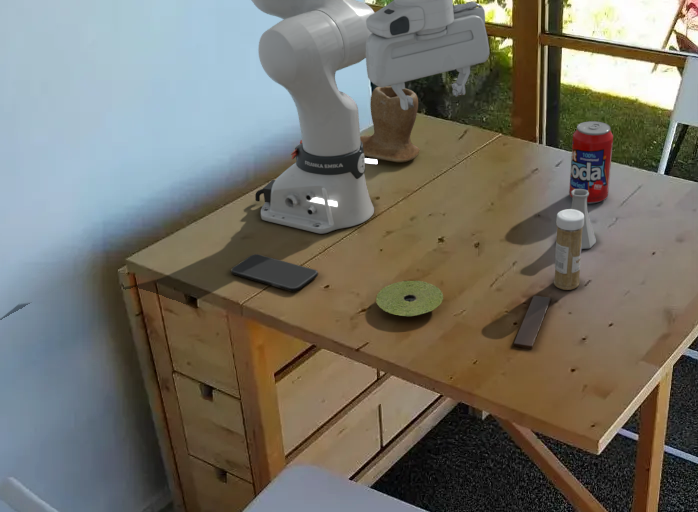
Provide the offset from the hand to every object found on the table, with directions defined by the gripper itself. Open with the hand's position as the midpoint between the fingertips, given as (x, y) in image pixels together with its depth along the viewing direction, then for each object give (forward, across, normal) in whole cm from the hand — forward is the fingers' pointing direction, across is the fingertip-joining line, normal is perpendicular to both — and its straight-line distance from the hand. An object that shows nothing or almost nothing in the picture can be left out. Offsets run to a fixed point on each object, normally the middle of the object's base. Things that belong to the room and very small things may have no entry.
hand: (433, 101), depth 150 cm
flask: (+32, -26, +2) cm, 41 cm away
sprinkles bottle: (+32, -15, +14) cm, 39 cm away
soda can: (+32, -39, -12) cm, 51 cm away
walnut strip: (+32, -4, +21) cm, 39 cm away
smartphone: (+28, +28, -15) cm, 42 cm away
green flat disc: (+31, +12, +7) cm, 34 cm away
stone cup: (+28, -13, -53) cm, 61 cm away
